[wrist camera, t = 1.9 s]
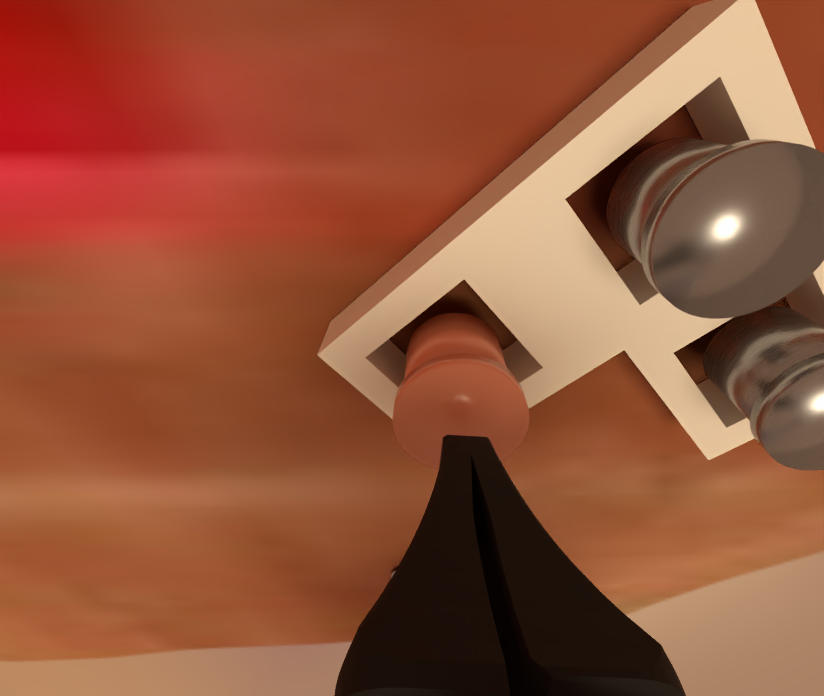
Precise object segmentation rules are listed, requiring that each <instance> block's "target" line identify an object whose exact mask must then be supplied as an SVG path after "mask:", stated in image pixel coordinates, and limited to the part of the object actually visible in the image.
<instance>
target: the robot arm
mask: <svg viewBox="0 0 824 696" xmlns="http://www.w3.org/2000/svg"><path fill="white" fill-rule="evenodd" d="M335 696H686V695H685V692H684V690H683V688H682V685H681V683H680V680H679V678H678V676H677V674H676V672H675V670H674V668H673V666H672V664H671V662H670V661H669V659H668V657H667V655H666V653H665V652H664V650H663V648H662V646H661V644H659V643H658V642H657V641H656V640H655V639H653V638H652V637H651V636H650V635H648V634H647V633H646V632H645V631H644V630H643V629H641V628H640V627H639V626H638V625H637V624H635V623H634V622H633V621H632V620H631V619H630V618H628V617H627V616H626V615H625V614H624V613H622V612H621V611H620V610H619V609H618V608H617V607H616V606H615V605H614V604H613V603H612V602H611V601H610V600H609V599H607V598H606V597H605V596H604V595H603V594H602V593H601V592H600V591H599V590H598V589H597V588H596V587H595V586H594V585H593V584H592V582H591V581H590V580H589V579H588V578H587V577H586V576H585V575H584V574H583V573H582V572H581V571H580V570H579V569H578V568H577V567H576V566H575V565H574V564H573V563H572V562H571V560H570V559H569V558H568V557H567V556H566V555H565V554H564V552H563V551H562V550H561V549H560V548H559V547H558V545H557V544H556V543H555V542H554V540H553V539H552V538H551V537H550V536H549V534H548V533H547V532H546V530H545V529H544V528H543V526H542V525H541V524H540V522H539V521H538V520H537V518H536V517H535V515H534V514H533V513H532V511H531V510H530V508H529V507H528V506H527V504H526V503H525V501H524V500H523V498H522V496H521V495H520V493H519V492H518V490H517V488H516V487H515V485H514V484H513V482H512V480H511V479H510V477H509V475H508V474H507V472H506V470H505V468H504V467H503V465H502V463H501V461H500V459H499V457H498V455H497V454H496V452H495V450H494V447H493V445H492V443H491V441H490V440H489V438H488V437H480V436H461V435H446V436H444V437H443V440H442V448H441V457H440V466H439V472H438V476H437V479H436V483H435V486H434V489H433V492H432V495H431V498H430V500H429V503H428V506H427V508H426V511H425V513H424V516H423V518H422V521H421V523H420V525H419V527H418V529H417V532H416V534H415V536H414V538H413V540H412V542H411V544H410V546H409V548H408V550H407V552H406V553H405V555H404V557H403V559H402V561H401V563H400V565H399V566H398V568H397V570H396V571H394V572H393V573H392V574H391V579H390V581H389V583H388V584H387V586H386V588H385V589H384V591H383V593H382V594H381V596H380V597H379V599H378V600H377V602H376V603H375V604H374V606H373V607H372V609H371V610H370V611H369V613H368V614H367V616H366V617H365V619H364V620H363V621H362V623H361V624H360V626H359V628H358V630H357V633H356V635H355V637H354V639H353V641H352V644H351V646H350V648H349V650H348V653H347V655H346V657H345V660H344V662H343V665H342V667H341V670H340V673H339V676H338V680H337V684H336V689H335Z"/></svg>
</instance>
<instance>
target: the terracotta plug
mask: <svg viewBox="0 0 824 696" xmlns="http://www.w3.org/2000/svg"><path fill="white" fill-rule="evenodd" d="M528 427H529V409H528V405H527V402H526V399H525V396H524V392H523V390H522V387H521V385H520V383H519V381H518V380H517V378H516V377H515V376H514V375H513V373H512V372H511V371H509V370H508V369H507V366H506V362H505V359H504V356H503V352H502V349H501V345H500V342H499V339H498V337H497V335H496V333H495V332H494V330H493V329H492V328H491V327H490V326H489V325H488V324H487V323H486V322H484V321H483V320H481V319H479V318H477V317H475V316H472V315H469V314H465V313H446V314H441V315H438V316H435V317H433V318H431V319H429V320H427V321H425V322H424V323H422V324H421V325H420V326H419V327H418V328H417V329H416V330H415V331H414V333H413V334H412V336H411V337H410V340H409V342H408V345H407V350H406V363H405V377H404V380H403V381H402V383H401V384H400V386H399V388H398V390H397V393H396V396H395V401H394V410H393V429H394V434H395V436H396V439H397V441H398V442H399V444H400V446H401V447H402V448H403V450H404V451H405V452H406V453H407V454H408V455H409V456H411V457H412V458H413V459H415V460H416V461H418V462H420V463H421V464H423V465H426V466H428V467H431V468H434V469H437V470H439V466H440V457H441V448H442V440H443V437H444V436H446V435H461V436H480V437H488V438H489V440H490V441H491V443H492V445H493V447H494V450H495V452H496V454H497V455H498V457H499V459H500V461H502V460H504V459H505V458H507V457H508V456H509V455H511V454H512V453H513V452H514V451H515V450H516V449H517V448H518V447H519V445H520V444H521V443H522V441H523V439H524V437H525V435H526V433H527V430H528Z"/></svg>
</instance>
